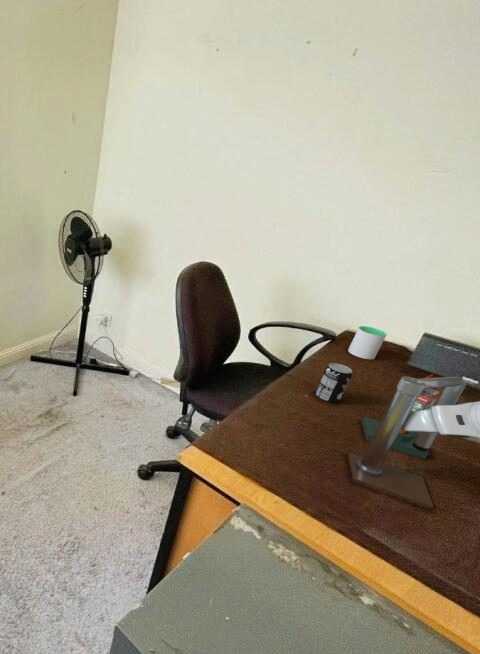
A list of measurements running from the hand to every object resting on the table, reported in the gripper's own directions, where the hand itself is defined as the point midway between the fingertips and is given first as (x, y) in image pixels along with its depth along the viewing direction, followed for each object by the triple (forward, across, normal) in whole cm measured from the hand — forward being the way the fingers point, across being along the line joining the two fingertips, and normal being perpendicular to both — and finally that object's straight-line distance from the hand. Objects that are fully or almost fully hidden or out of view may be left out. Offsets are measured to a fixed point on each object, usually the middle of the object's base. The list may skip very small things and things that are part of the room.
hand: (423, 428), depth 102 cm
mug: (+55, -37, -37) cm, 76 cm away
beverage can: (+31, -1, -12) cm, 33 cm away
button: (+15, -6, -1) cm, 16 cm away
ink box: (+25, -21, -6) cm, 33 cm away
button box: (+17, -6, +1) cm, 18 cm away
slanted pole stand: (+5, +8, +13) cm, 17 cm away
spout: (+2, +6, +5) cm, 8 cm away
